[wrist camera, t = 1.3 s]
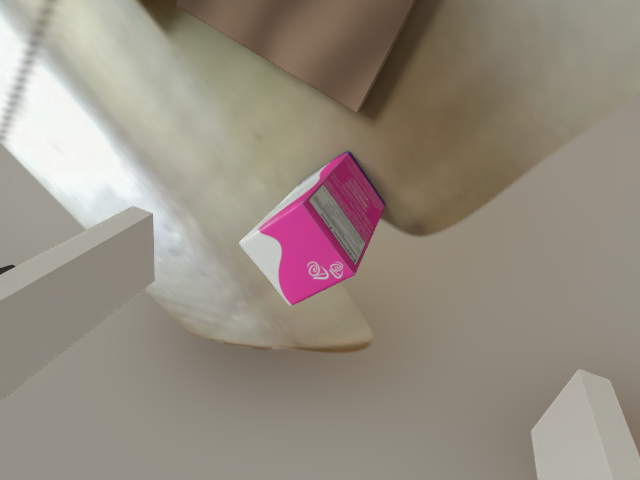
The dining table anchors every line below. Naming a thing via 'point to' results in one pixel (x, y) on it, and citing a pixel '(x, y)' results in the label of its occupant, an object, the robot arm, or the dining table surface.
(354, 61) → the walnut board
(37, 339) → the robot arm
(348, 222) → the supplement box
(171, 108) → the dining table surface
